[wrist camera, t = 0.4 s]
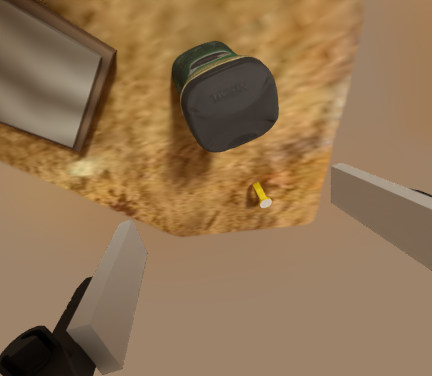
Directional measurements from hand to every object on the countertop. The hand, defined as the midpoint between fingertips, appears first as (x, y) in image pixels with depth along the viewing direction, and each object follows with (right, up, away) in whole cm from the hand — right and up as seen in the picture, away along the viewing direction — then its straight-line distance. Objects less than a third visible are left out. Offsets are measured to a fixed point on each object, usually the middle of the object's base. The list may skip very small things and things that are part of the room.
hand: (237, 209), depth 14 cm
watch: (+8, +2, +37) cm, 38 cm away
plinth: (-26, +17, +15) cm, 35 cm away
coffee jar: (-3, +19, +20) cm, 28 cm away
